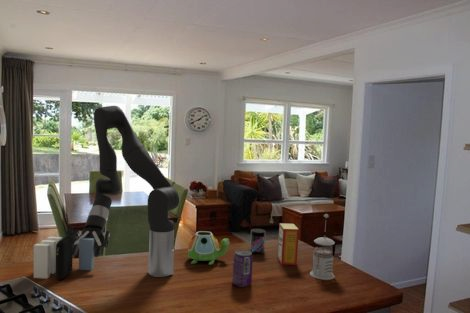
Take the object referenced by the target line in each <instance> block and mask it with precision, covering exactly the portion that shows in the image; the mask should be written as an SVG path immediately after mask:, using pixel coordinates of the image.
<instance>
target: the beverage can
mask: <svg viewBox="0 0 470 313" xmlns="http://www.w3.org/2000/svg"><path fill="white" fill-rule="evenodd" d="M253 260H254V257H253V254H252V252H251V251H250V250H248V249H238V250H235V252H234V254H233V262H232V264H233V265H232V278H231V279H232V284H234V285H235V286H237V287H243V288H245V287H247V286H250V285H251V284H252V283H253V282H252V280H253V262H254V261H253Z"/></svg>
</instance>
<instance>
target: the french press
mask: <svg viewBox="0 0 470 313" xmlns="http://www.w3.org/2000/svg"><path fill="white" fill-rule="evenodd" d="M323 217H324V218H329V217H330V216H329V214H328V213H325V214H324V215H323ZM324 222H325V225H324V231H326V226H327V221H324ZM313 242H314V243H315V244H316V245H320V246H323V247H325V246H326V247H328V246H329V247H330V246H334V245H335V243H336V242H335V241H334V240H333V239H331V238H329V237H327V236H323V237H317V238H316V239H314V240H313ZM333 254H334V252H333V251H332V250H331V249H330V250H329V249H327V248H322V247H319V248H318V246H316V247H314V250H313V253H312V262H313V263H312V270H311V271H310V272H309V275H310V276H311V277H313V278H315V279H318V280H324V281H329V280H333V279H335V275H334V273H333V267H334V266H333V265H334V255H333Z"/></svg>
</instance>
